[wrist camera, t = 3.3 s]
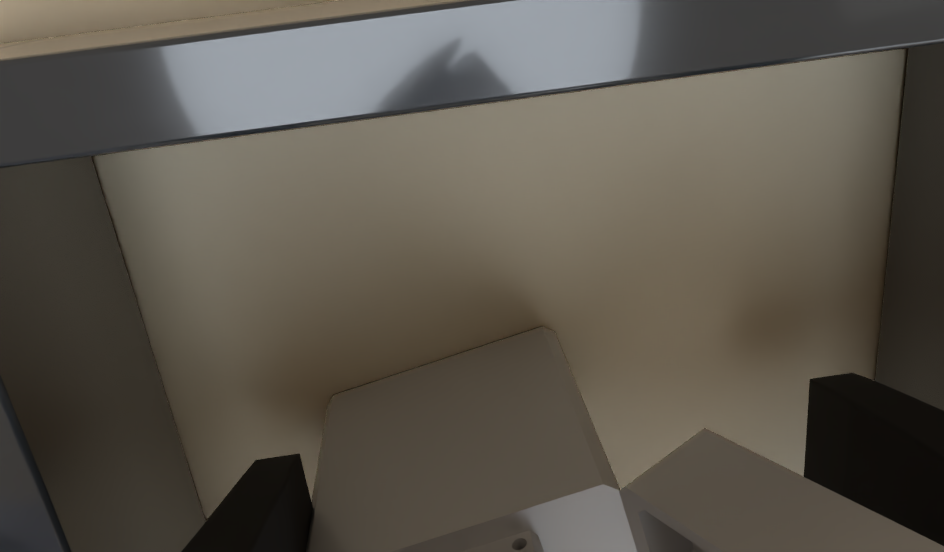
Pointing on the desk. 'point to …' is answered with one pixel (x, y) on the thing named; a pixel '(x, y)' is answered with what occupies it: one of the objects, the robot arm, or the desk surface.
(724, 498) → the lighter
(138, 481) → the sink
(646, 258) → the desk surface
